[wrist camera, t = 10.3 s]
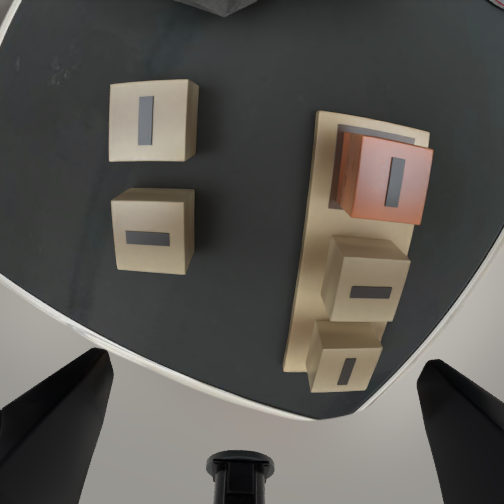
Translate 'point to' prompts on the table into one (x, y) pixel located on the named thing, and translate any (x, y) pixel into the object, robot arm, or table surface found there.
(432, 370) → the robot arm
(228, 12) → the potted plant
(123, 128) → the left tiles
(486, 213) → the table surface
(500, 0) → the pill bottle
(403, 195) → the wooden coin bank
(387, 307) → the right tiles
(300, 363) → the pattern board
